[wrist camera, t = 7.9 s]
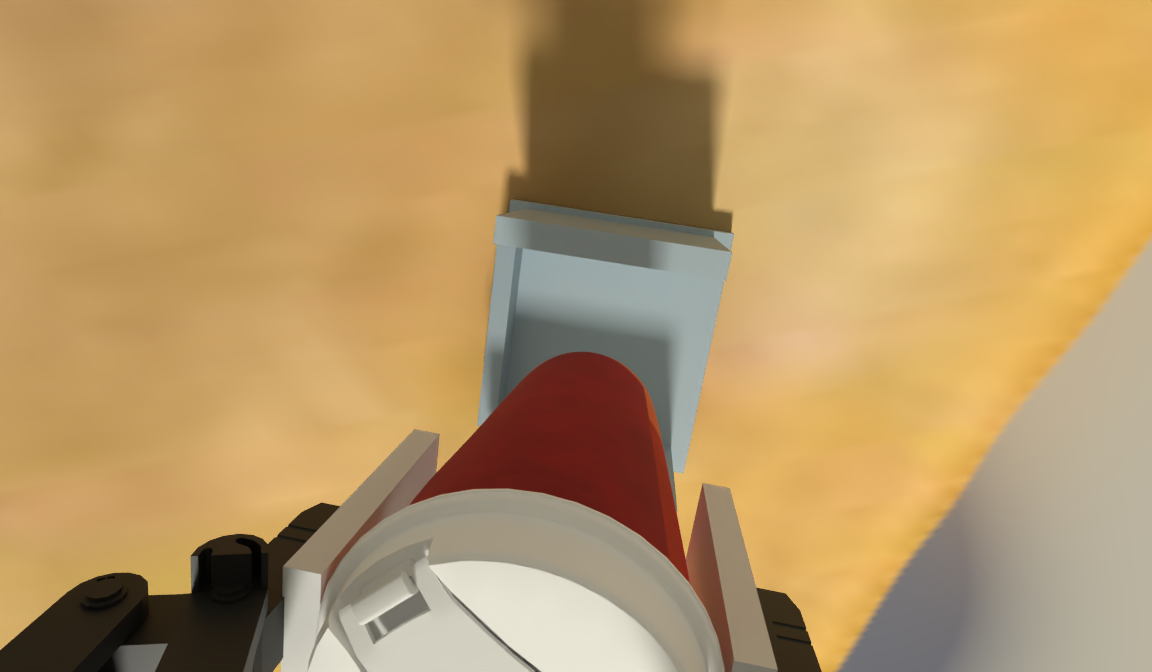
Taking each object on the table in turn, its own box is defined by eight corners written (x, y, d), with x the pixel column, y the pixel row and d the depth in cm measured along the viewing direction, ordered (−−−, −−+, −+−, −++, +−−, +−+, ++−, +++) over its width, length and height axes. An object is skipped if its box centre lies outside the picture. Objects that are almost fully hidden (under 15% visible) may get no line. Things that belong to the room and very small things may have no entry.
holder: (514, 199, 33) (474, 204, 25) (731, 232, 32) (758, 248, 25) (488, 429, 37) (446, 496, 29) (682, 465, 36) (692, 543, 28)
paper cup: (448, 393, 24) (186, 669, 10) (606, 282, 22) (542, 439, 8) (564, 542, 25) (465, 972, 11) (724, 448, 23) (835, 825, 9)
